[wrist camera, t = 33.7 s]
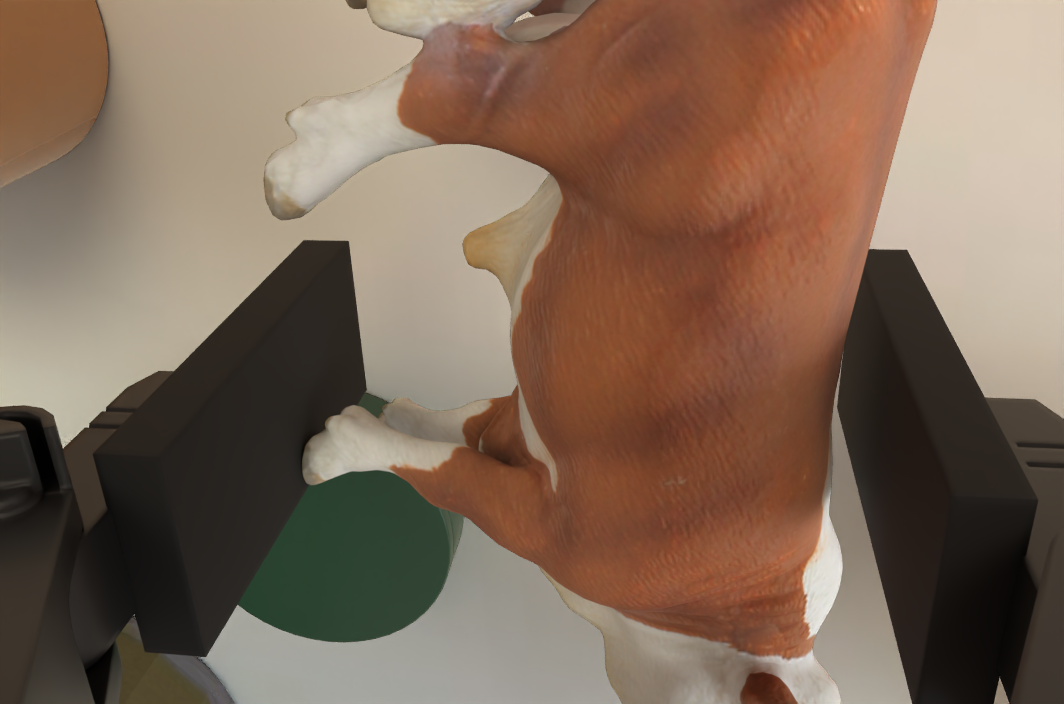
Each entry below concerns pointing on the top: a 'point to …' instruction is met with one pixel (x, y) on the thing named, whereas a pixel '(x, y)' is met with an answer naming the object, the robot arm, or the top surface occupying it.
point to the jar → (48, 80)
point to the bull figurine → (646, 305)
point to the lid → (355, 558)
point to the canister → (164, 675)
